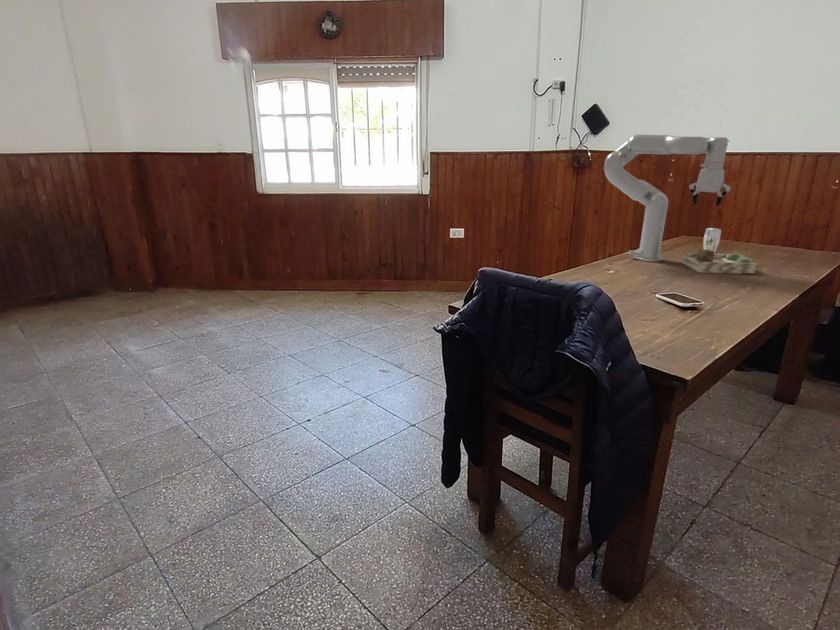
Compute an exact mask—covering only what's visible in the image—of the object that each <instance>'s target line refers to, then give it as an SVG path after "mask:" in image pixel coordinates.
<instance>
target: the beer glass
mask: <svg viewBox="0 0 840 630" xmlns="http://www.w3.org/2000/svg"><path fill="white" fill-rule="evenodd" d="M721 235H722V229H721V228H719V227H718V228H716V227H706V228H705V232H704V235H703V243H702V244H703V245H702V246H703V247H702V248H703V249H704V250H712V251H714V252H715V253H714V254H716V250H717V248H718V246H719V243H720V241H721Z"/></svg>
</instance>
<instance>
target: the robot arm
mask: <svg viewBox="0 0 840 630" xmlns="http://www.w3.org/2000/svg"><path fill="white" fill-rule="evenodd" d="M728 143H729V140H728V138H727V137H725V136H724V137H720V136H716V137H715V136H714V137H705V136H704V137H703V136H679V135H676V136H675V135H670V134H669V135H668V134H634V135H632V136H630V138H629V139H628V140H627V141H625V143H624V144H623V145H621V146H620V147H619V148H617V149H616V150H614V151H612V152H611V153H609V154H608V155H607V156H606V158H605V161H604V165H603V171H604V174H605V177H606V179H607V180H608V182H609V183H610V184H611V185H612V186H614V187H615V188H617V189H618V190H620V191H621V192H622V193H623V194H625V195H626V196H628V197H629V198H630V199H631V200H633V201H637V202H639V203H640V204H642V205H643V206H645V208H644V215H643V223H642V229H641V230H642V231H641V236H640V243H639V248H637V249H635V250H628V255H633V256H634V259H636V260H638V261H643V262H661V261H663V257H662V256H660V253H661V248H662V242H663V236H664V229H665V226H666V225H665V224H666V219H667V212H668V207H669V199H668V197H667V195H666V194H665V193H664V192H662V191H660V189H658V188H656V187H655V186H653V185H652V184H650V183H649V182H647V181H646V180H644V179H639V178H637V177H635V176H634V175H633V174H631V172H628V171H627V170H625V168H624V166H625V165H626V164H628V163H629V162H630V161H632V160H634V159H635V158H636V157H637V156H639V155H642V154H643V155H645V154H646V155H694V156H695V155H702V154H706V155H705V158H704V162H702V163H700V167H703V168H701V169H700V171H699V175H698V178H697V181H696V182H694V183H691V184H689V185H688V187H689V188H688V189H689V191H690V192H691V194H692V195H693V197H692V203H693V205H696V204H698V199H699V193H701V192H702V193H713V194H715V193H716V194H717V195H718V197H717V196H716V197H717V198H716V204H715V207H719V206H720V205H721V204H722V200H723V197H724V196H726V195H727V194H728V193H729V192H730V190H731V189H732V187H731V186H729V185H728V184H726V183H724V180H725V169H723V167H724V164H725V163H724V162H725V158H726V152H727V148H728ZM695 186H696V187H695ZM694 187H695V189H694ZM723 188H725V190H724V191H723Z"/></svg>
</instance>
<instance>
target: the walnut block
mask: <svg viewBox="0 0 840 630" xmlns="http://www.w3.org/2000/svg"><path fill="white" fill-rule="evenodd" d="M697 253H698V255H697V260H698V261H700V262H713V258H714V253H715V254H716V251H715V252H714V251H712V250H704V249H699V248H698V252H697Z"/></svg>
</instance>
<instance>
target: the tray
mask: <svg viewBox="0 0 840 630" xmlns="http://www.w3.org/2000/svg"><path fill="white" fill-rule="evenodd" d="M697 255H698V252H696V253H695V252H693V253H692V252H689V253H688V252H684V253H683V255H682V260H681V263H682V264H684V265H685V266H687V267H689V268H690V269H692V270H694V271H695V272H696V273H710V274H711V273H713V274H716V273H717V274H742V273H756V270H757V265H758V264H757V263H755V262H753V259H752V258H749V257H747V256H745V255H743V254H741V253H740V254H739V253H736V254H735V253H715V254H714V258H713V262H700V261H698V260H697Z"/></svg>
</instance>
